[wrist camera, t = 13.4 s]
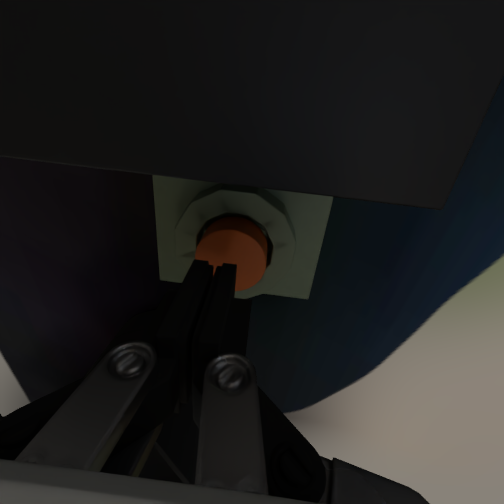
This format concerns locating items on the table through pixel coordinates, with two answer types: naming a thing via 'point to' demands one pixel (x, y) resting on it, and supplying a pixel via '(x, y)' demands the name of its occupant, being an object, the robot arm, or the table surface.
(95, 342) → the table surface
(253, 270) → the button
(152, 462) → the pen holder
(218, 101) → the large matte black box
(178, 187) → the panel
